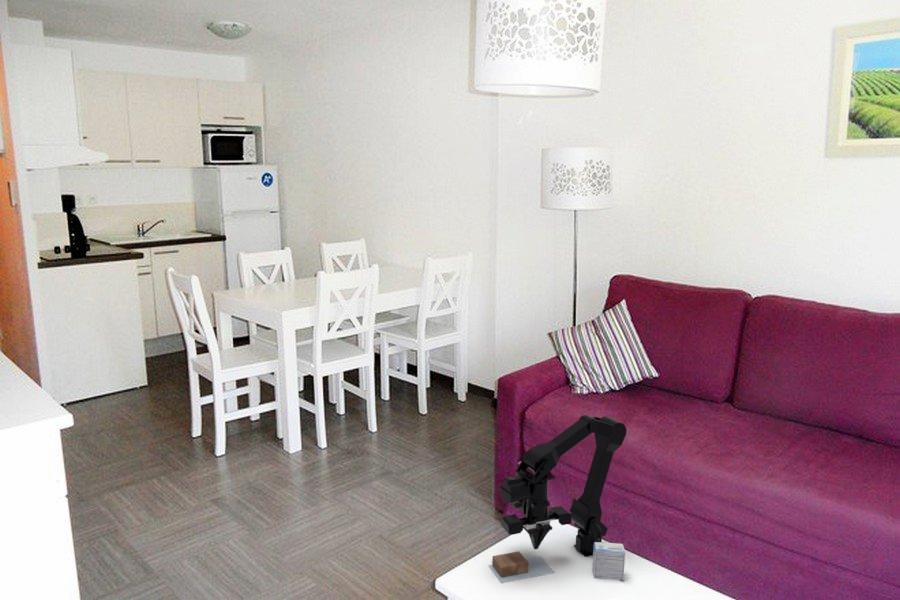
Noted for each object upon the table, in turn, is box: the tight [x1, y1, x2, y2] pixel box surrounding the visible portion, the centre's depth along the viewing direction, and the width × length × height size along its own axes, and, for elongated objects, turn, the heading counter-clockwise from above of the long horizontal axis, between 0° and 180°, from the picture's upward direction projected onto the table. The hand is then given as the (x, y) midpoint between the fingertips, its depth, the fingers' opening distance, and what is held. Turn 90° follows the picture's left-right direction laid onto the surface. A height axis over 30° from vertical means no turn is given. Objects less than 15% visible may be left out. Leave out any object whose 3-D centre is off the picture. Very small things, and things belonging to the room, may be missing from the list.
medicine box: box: [591, 541, 626, 582], centre depth 187 cm, size 8×4×9 cm, turn 84°
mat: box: [487, 555, 556, 584], centre depth 189 cm, size 16×9×1 cm, turn 110°
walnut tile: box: [491, 550, 529, 577], centre depth 189 cm, size 3×6×8 cm
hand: (535, 548), depth 191 cm, fingers closed
